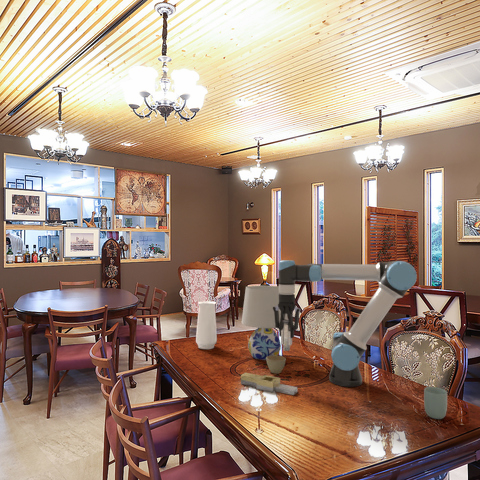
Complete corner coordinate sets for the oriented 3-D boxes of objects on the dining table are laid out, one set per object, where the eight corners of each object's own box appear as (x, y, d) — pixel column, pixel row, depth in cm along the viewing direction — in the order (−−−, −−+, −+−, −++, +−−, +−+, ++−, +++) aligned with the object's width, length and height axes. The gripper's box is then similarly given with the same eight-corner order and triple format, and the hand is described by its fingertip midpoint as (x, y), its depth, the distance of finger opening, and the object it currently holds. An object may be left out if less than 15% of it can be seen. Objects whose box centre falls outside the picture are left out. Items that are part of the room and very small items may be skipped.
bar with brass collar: (298, 390, 170) (298, 381, 170) (292, 396, 163) (292, 387, 163) (247, 379, 182) (247, 371, 182) (238, 385, 175) (239, 376, 175)
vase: (194, 345, 245) (194, 301, 245) (213, 344, 249) (214, 300, 249) (198, 350, 232) (198, 304, 233) (218, 349, 236) (219, 303, 237)
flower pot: (284, 376, 189) (285, 361, 189) (264, 374, 191) (264, 360, 191) (286, 369, 198) (286, 355, 199) (267, 368, 200) (267, 354, 201)
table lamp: (286, 365, 206) (287, 290, 207) (237, 361, 211) (238, 289, 212) (288, 351, 233) (289, 286, 234) (244, 349, 238) (245, 284, 238)
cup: (426, 410, 150) (427, 385, 151) (449, 416, 146) (449, 390, 146) (421, 417, 144) (421, 390, 145) (444, 423, 140) (444, 396, 140)
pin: (292, 349, 178) (292, 319, 178) (289, 351, 174) (289, 320, 175) (284, 348, 180) (284, 318, 180) (280, 350, 176) (281, 320, 177)
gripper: (305, 293, 177) (305, 344, 177) (274, 291, 185) (274, 340, 184) (300, 295, 171) (300, 348, 170) (267, 293, 178) (267, 343, 178)
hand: (286, 344), depth 177 cm, fingers closed on pin, 3 cm apart
